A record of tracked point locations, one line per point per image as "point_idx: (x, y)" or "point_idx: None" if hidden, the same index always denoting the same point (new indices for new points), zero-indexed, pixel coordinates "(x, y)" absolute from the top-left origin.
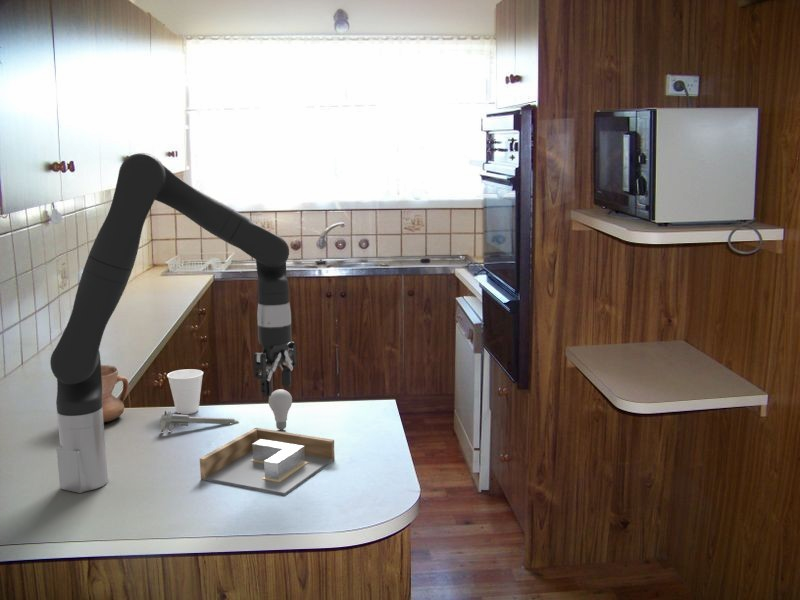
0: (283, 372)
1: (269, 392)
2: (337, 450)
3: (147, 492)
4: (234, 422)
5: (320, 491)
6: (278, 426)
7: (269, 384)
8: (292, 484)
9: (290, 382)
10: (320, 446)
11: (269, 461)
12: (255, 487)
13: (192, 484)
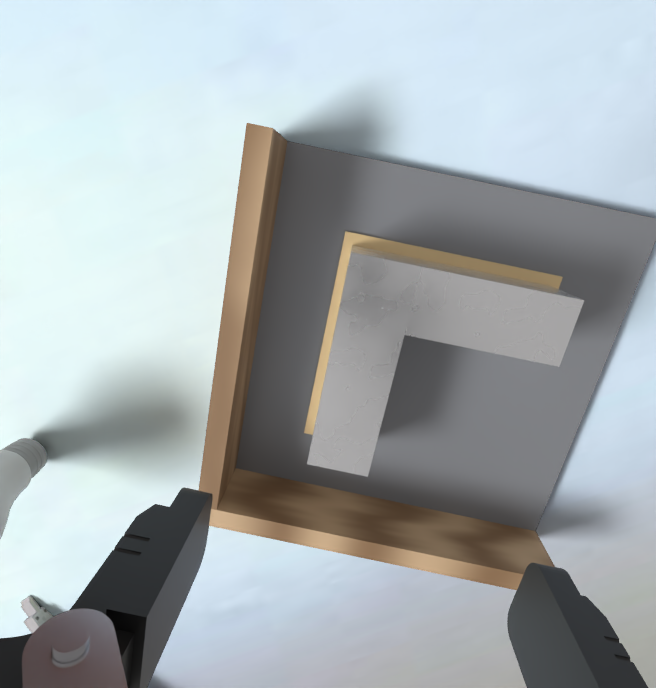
0: (146, 670)
1: (581, 597)
2: (162, 161)
3: (632, 634)
4: (39, 608)
5: (611, 83)
6: (42, 463)
7: (626, 679)
8: (578, 218)
9: (186, 510)
10: (268, 198)
11: (564, 342)
12: (611, 347)
13: (566, 547)
